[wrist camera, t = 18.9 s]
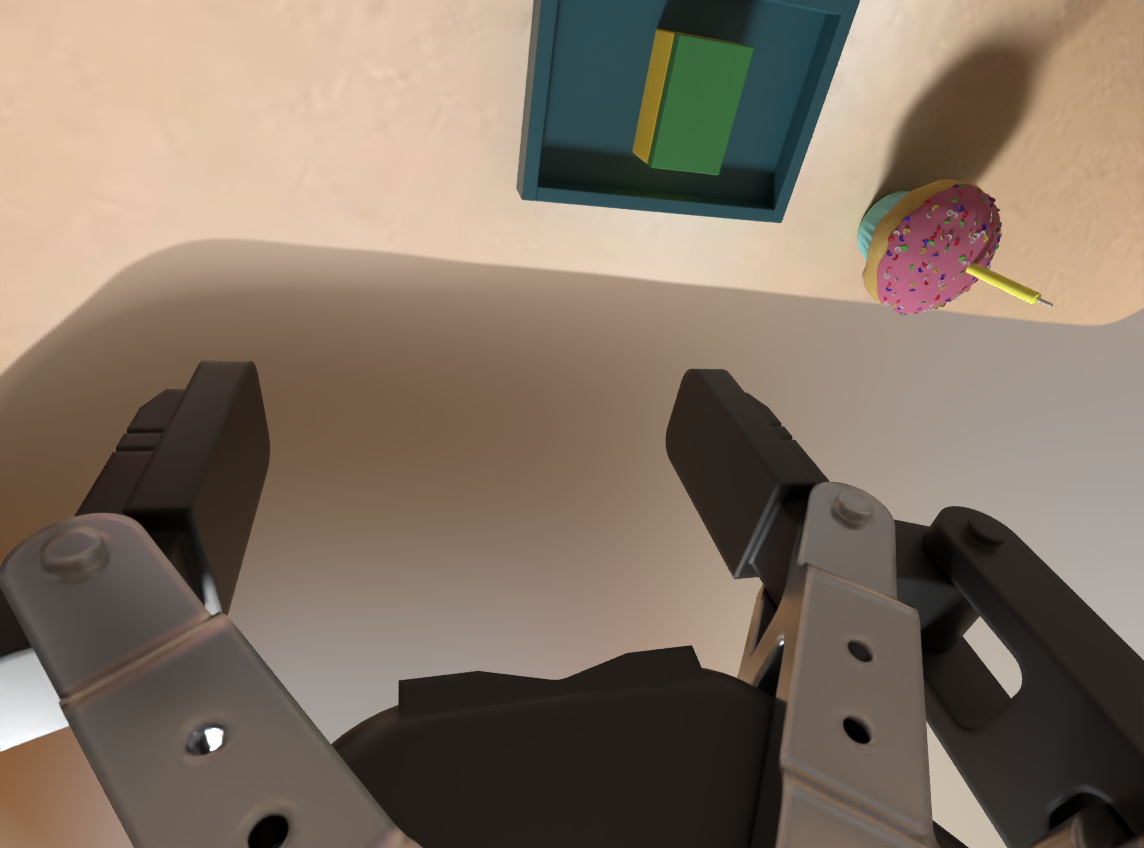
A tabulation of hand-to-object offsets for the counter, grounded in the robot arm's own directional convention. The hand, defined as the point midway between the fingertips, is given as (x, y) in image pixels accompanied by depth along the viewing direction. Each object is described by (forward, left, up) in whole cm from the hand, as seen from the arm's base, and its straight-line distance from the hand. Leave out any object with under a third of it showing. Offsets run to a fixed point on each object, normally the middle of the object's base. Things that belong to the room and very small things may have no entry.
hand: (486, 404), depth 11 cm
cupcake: (+31, -3, -26) cm, 41 cm away
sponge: (+13, +3, -26) cm, 29 cm away
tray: (+13, +3, -26) cm, 29 cm away
